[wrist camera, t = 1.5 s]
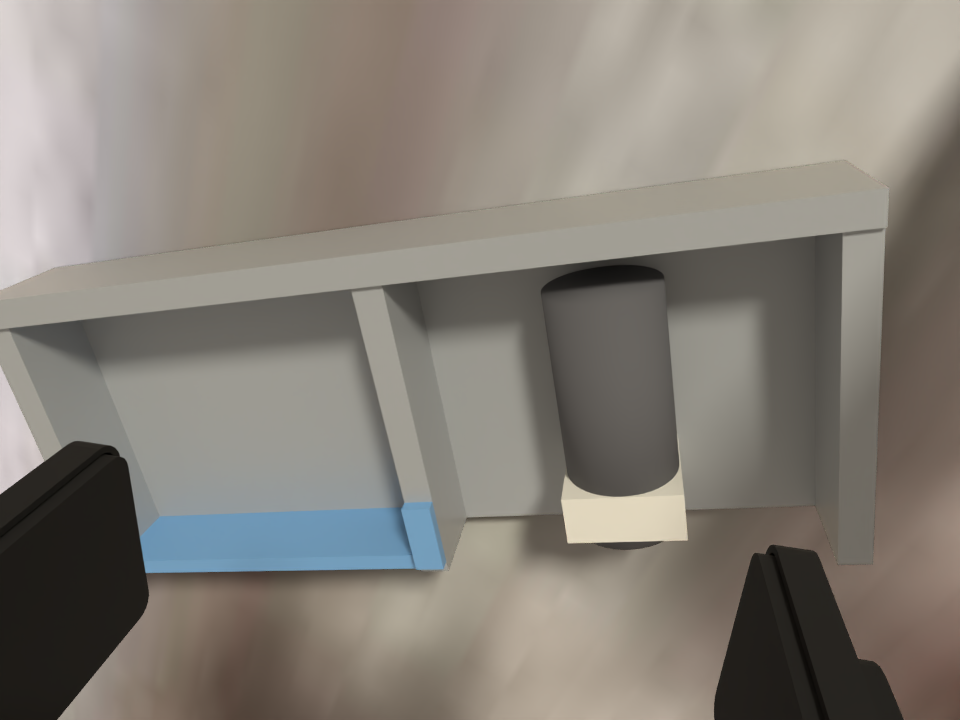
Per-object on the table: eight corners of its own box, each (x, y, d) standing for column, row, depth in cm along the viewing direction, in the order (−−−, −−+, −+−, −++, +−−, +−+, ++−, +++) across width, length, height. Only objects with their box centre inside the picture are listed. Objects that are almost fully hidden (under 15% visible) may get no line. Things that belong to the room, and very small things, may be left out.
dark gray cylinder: (546, 272, 29) (532, 311, 25) (663, 259, 28) (668, 297, 24) (576, 487, 33) (569, 551, 29) (681, 483, 32) (688, 549, 28)
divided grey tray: (845, 160, 26) (892, 189, 22) (840, 490, 32) (876, 573, 27) (54, 267, 34) (-39, 306, 30) (155, 516, 40) (90, 583, 35)
